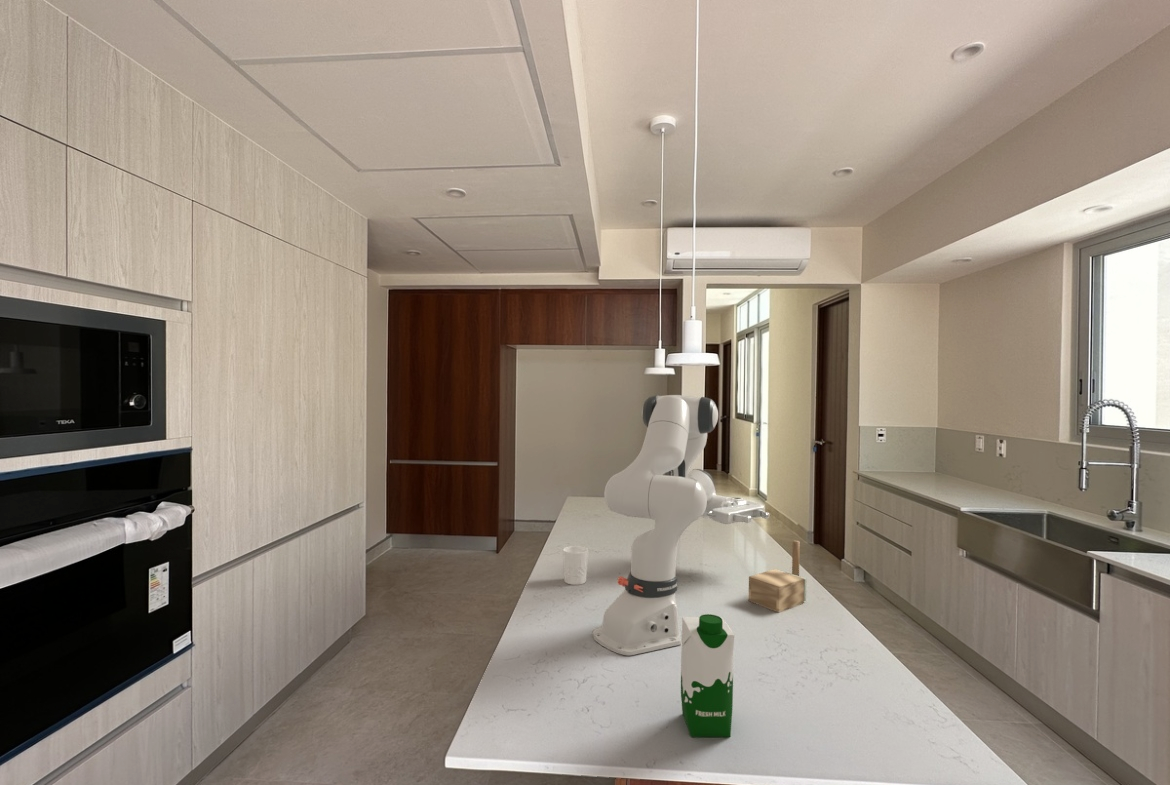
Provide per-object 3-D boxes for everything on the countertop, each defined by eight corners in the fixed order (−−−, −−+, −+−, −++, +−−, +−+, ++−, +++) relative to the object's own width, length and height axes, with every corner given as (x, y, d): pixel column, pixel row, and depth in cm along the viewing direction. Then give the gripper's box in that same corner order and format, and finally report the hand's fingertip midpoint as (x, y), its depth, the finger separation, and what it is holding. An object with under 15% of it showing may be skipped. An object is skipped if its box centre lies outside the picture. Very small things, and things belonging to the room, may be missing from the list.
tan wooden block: (778, 612, 151) (779, 586, 151) (748, 600, 159) (748, 576, 159) (803, 603, 159) (804, 578, 159) (773, 592, 167) (773, 569, 167)
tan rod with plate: (781, 610, 152) (782, 553, 152) (751, 598, 160) (752, 544, 160) (812, 598, 161) (813, 544, 161) (782, 588, 169) (783, 537, 169)
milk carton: (686, 740, 95) (688, 624, 95) (676, 710, 104) (678, 603, 104) (737, 740, 95) (739, 624, 95) (722, 710, 104) (724, 604, 104)
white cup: (588, 577, 177) (589, 546, 177) (586, 586, 169) (587, 553, 169) (564, 576, 178) (564, 545, 178) (560, 585, 170) (561, 552, 170)
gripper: (703, 504, 180) (738, 512, 169) (743, 497, 192) (778, 504, 181) (703, 523, 180) (737, 532, 169) (743, 515, 192) (777, 523, 181)
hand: (759, 518), depth 175 cm, fingers open, 8 cm apart
